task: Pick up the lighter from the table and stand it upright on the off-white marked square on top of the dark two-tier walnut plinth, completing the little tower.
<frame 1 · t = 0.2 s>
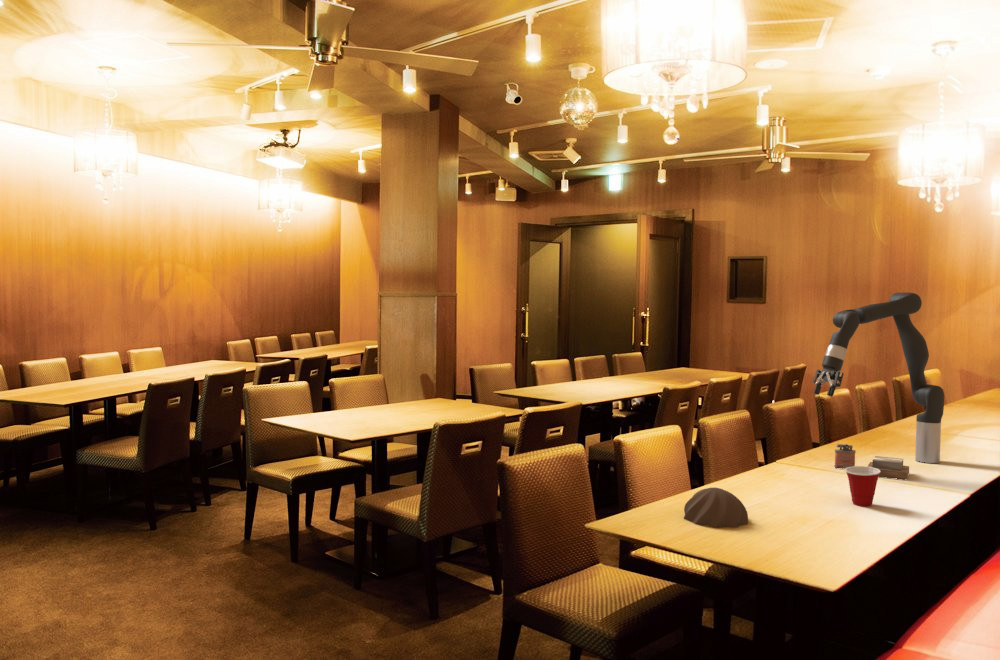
hand: (822, 395, 303), 30 cm above the table, tool tilted 20°, fingers open, 8 cm apart
lighter: (844, 468, 306), on the table
plinth: (887, 474, 295), on the table
decorative dome: (715, 520, 230), on the table
plastic cup: (861, 505, 249), on the table
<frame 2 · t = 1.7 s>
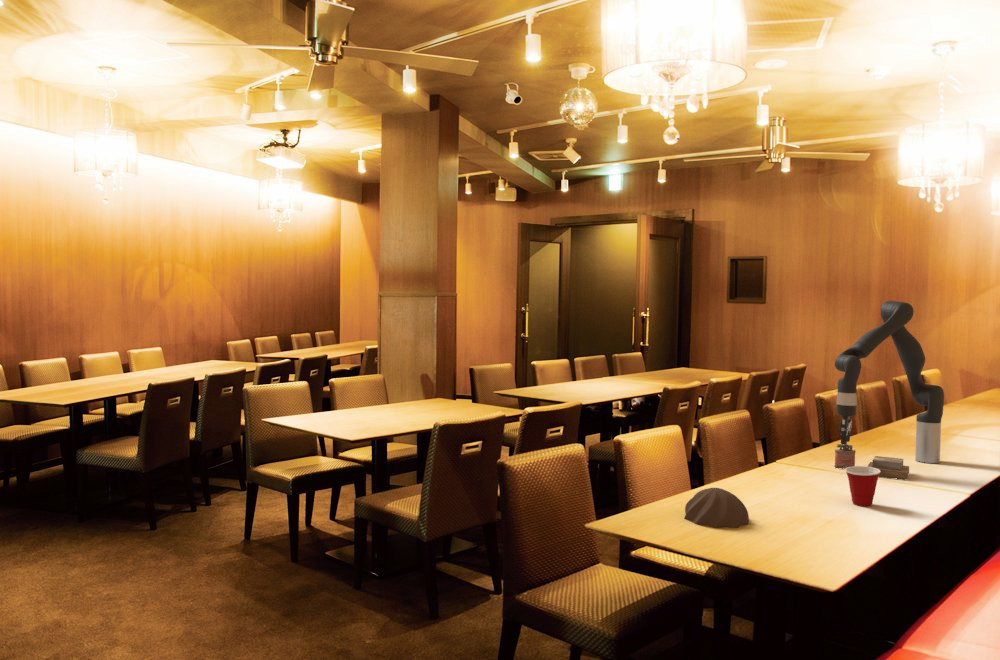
hand: (845, 442, 305), 10 cm above the table, tool pointing down, fingers open, 8 cm apart
nothing on the table moved.
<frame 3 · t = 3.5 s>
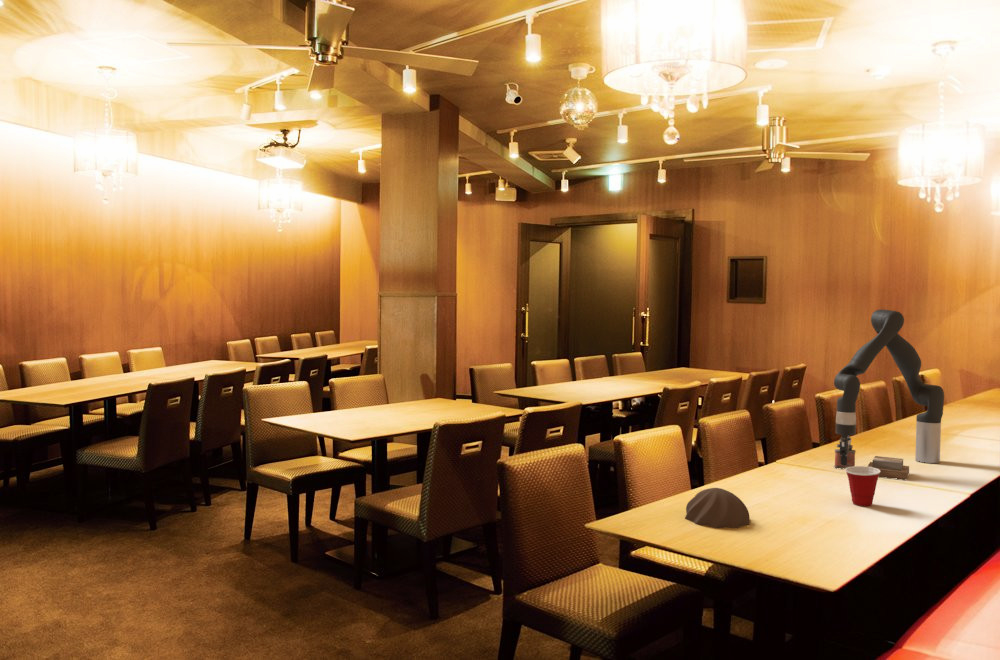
hand: (844, 463, 306), 2 cm above the table, tool pointing down, fingers closed on lighter, 4 cm apart
lighter: (844, 468, 306), on the table, touching gripper
everything else where it was.
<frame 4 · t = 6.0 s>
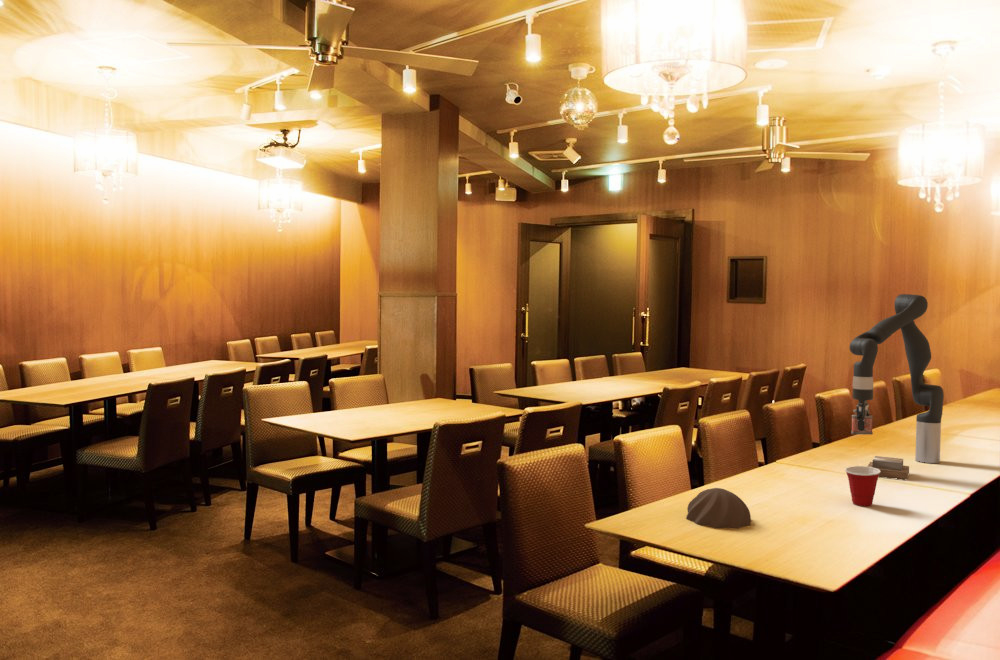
hand: (862, 429, 302), 17 cm above the table, tool pointing down, fingers closed on lighter, 4 cm apart
lighter: (861, 434, 302), point 15 cm above the table, touching gripper
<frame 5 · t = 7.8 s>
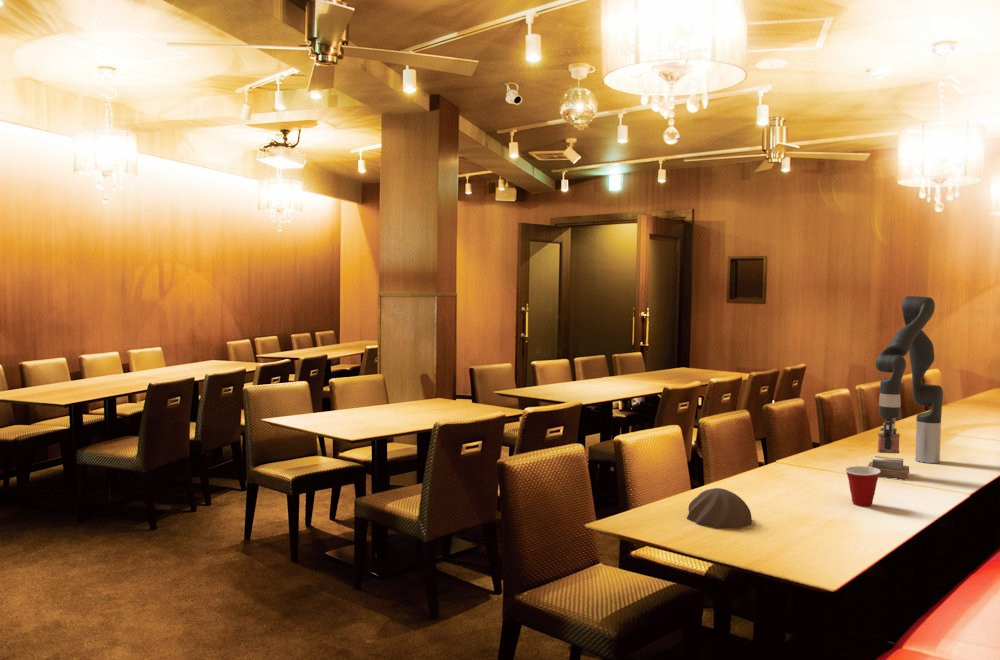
hand: (888, 448, 294), 11 cm above the table, tool pointing down, fingers closed on lighter, 4 cm apart
lighter: (888, 453, 294), point 9 cm above the table, touching gripper
when the fingers open (9 cm above the table, at t = 8.9 s): lighter drops 1 cm, resting on plinth.
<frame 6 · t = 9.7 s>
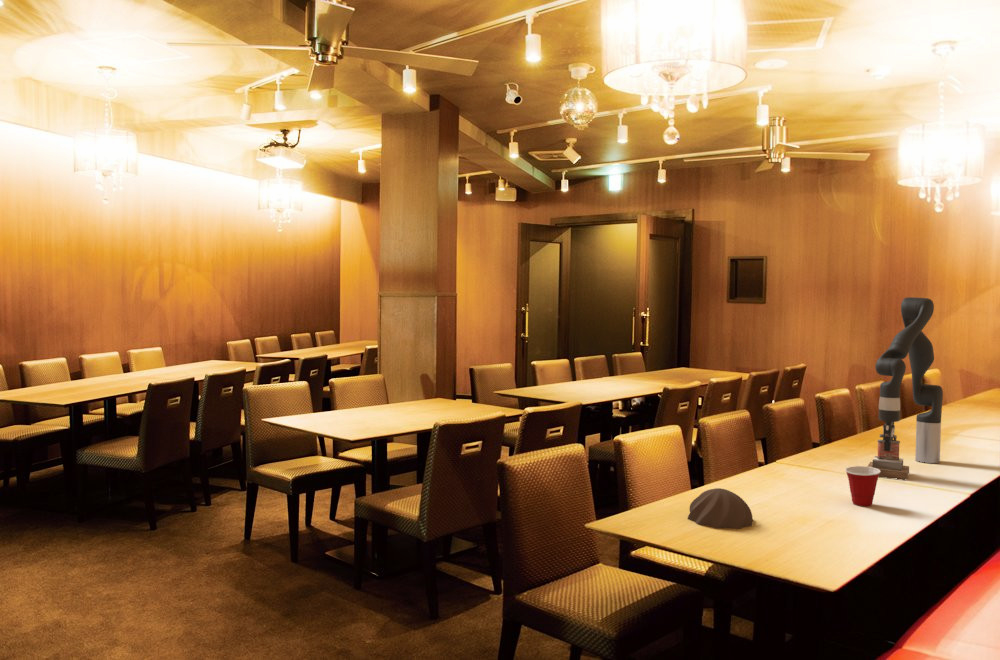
hand: (888, 449, 294), 10 cm above the table, tool pointing down, fingers open, 8 cm apart
lighter: (888, 459, 294), point 6 cm above the table, touching plinth
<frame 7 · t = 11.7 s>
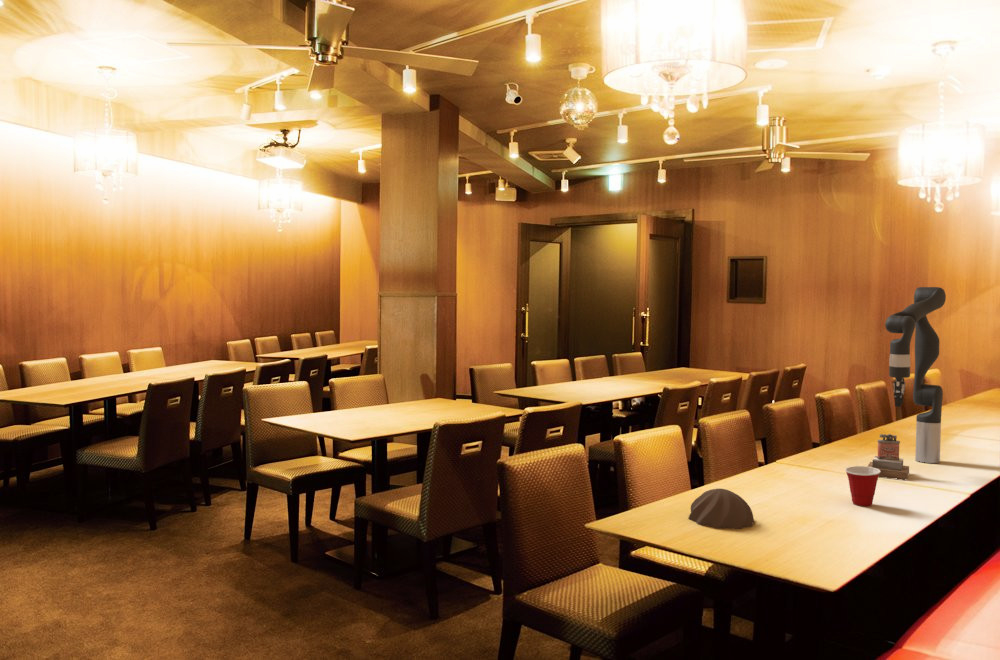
hand: (899, 405, 301), 27 cm above the table, tool pointing down, fingers open, 8 cm apart
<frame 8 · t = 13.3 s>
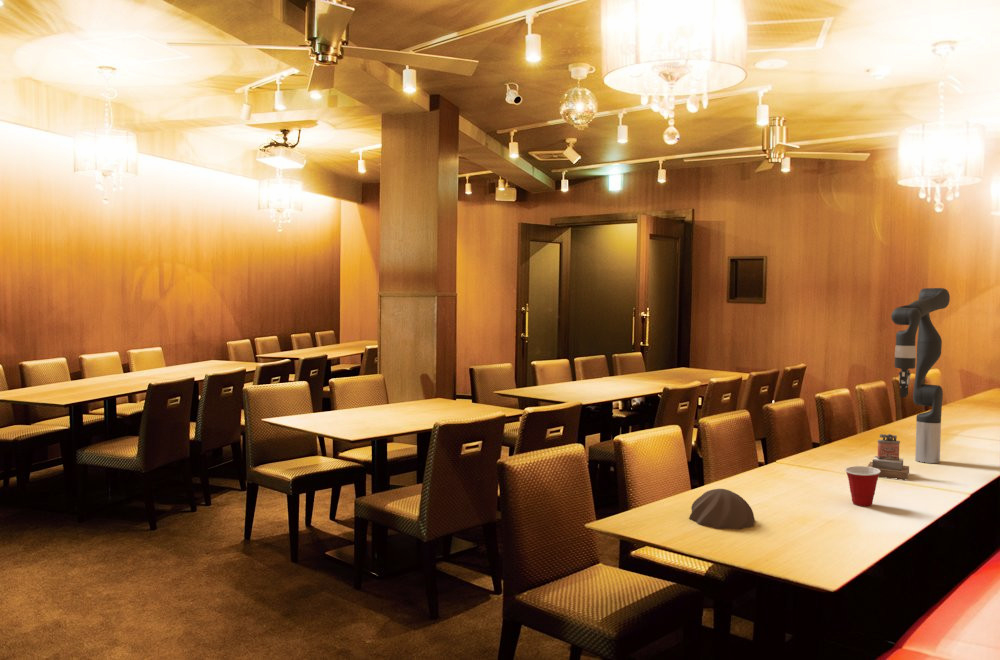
hand: (904, 396, 304), 30 cm above the table, tool pointing down, fingers open, 8 cm apart
at the end: lighter inside the target area on the plinth (0.0 cm from its centre), point 5.9 cm above the plinth's base; lighter tilted 0°; the gripper is holding nothing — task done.
